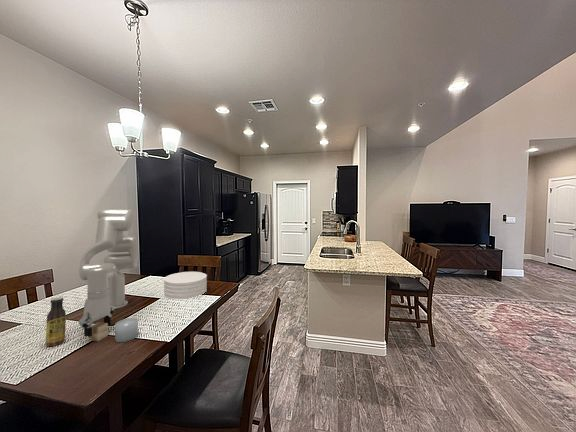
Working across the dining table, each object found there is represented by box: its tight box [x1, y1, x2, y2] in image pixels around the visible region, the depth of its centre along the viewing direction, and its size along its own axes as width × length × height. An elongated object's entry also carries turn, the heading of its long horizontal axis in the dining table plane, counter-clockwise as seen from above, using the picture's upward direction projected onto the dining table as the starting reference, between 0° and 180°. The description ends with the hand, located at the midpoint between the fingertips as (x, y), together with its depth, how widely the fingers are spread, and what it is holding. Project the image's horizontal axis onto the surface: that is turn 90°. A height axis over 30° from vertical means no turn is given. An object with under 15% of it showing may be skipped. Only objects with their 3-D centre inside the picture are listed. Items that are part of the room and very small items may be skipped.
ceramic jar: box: [114, 317, 139, 343], centre depth 114 cm, size 9×9×7 cm
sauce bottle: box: [45, 296, 67, 347], centre depth 108 cm, size 7×6×20 cm
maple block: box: [88, 321, 109, 342], centre depth 113 cm, size 5×5×6 cm
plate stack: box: [163, 271, 208, 300], centre depth 174 cm, size 28×28×12 cm
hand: (98, 330), depth 113 cm, fingers open, 9 cm apart
